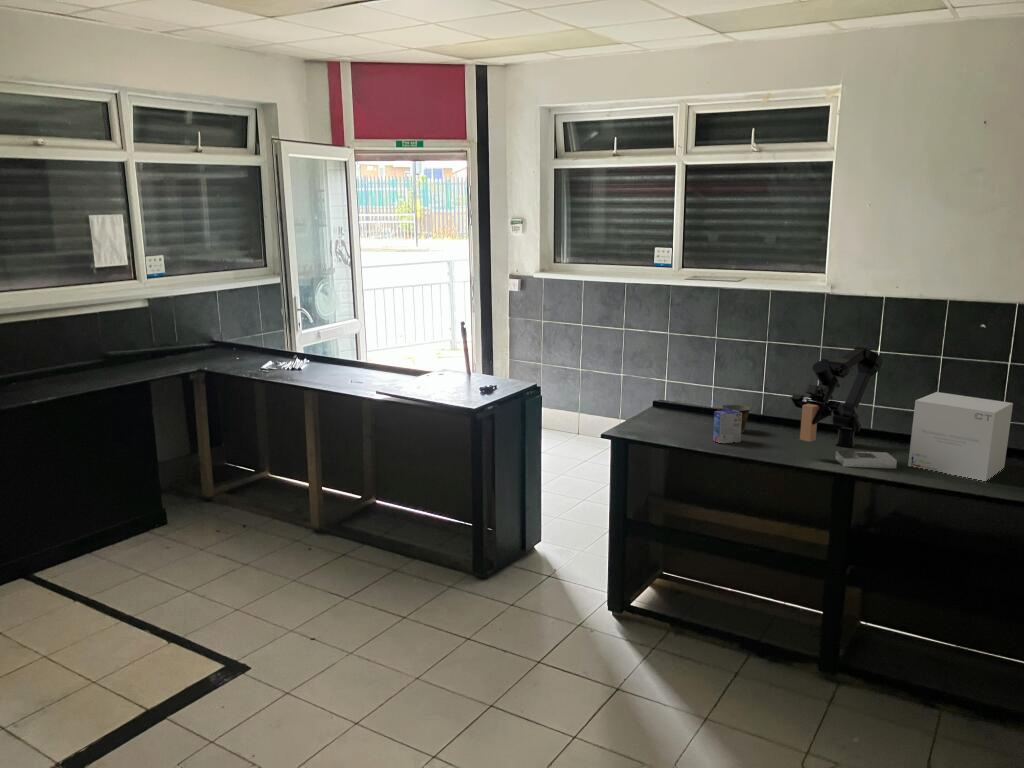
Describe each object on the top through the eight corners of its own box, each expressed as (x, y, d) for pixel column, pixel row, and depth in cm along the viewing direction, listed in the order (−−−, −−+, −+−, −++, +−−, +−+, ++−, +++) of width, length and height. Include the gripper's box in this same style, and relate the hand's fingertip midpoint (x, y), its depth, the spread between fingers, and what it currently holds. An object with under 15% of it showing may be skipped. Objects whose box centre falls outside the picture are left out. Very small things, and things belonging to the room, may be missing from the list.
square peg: (805, 437, 297) (808, 403, 295) (815, 439, 294) (818, 405, 292) (799, 439, 295) (802, 405, 292) (809, 441, 292) (812, 407, 289)
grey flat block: (835, 458, 295) (836, 450, 295) (886, 460, 293) (887, 452, 293) (843, 466, 286) (844, 458, 285) (896, 468, 284) (896, 460, 283)
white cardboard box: (907, 466, 287) (915, 400, 282) (928, 455, 302) (936, 391, 297) (985, 483, 270) (994, 412, 265) (1003, 470, 284) (1013, 403, 280)
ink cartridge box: (733, 438, 321) (736, 403, 318) (741, 442, 316) (743, 406, 313) (711, 440, 318) (713, 405, 315) (719, 444, 313) (721, 408, 310)
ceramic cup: (746, 428, 337) (747, 405, 336) (749, 434, 328) (751, 410, 326) (714, 427, 339) (716, 404, 337) (717, 433, 330) (718, 409, 328)
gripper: (795, 372, 299) (776, 405, 295) (842, 380, 285) (823, 414, 281) (805, 390, 306) (787, 422, 301) (852, 398, 292) (833, 432, 287)
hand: (807, 422), depth 292 cm, fingers closed on square peg, 4 cm apart
